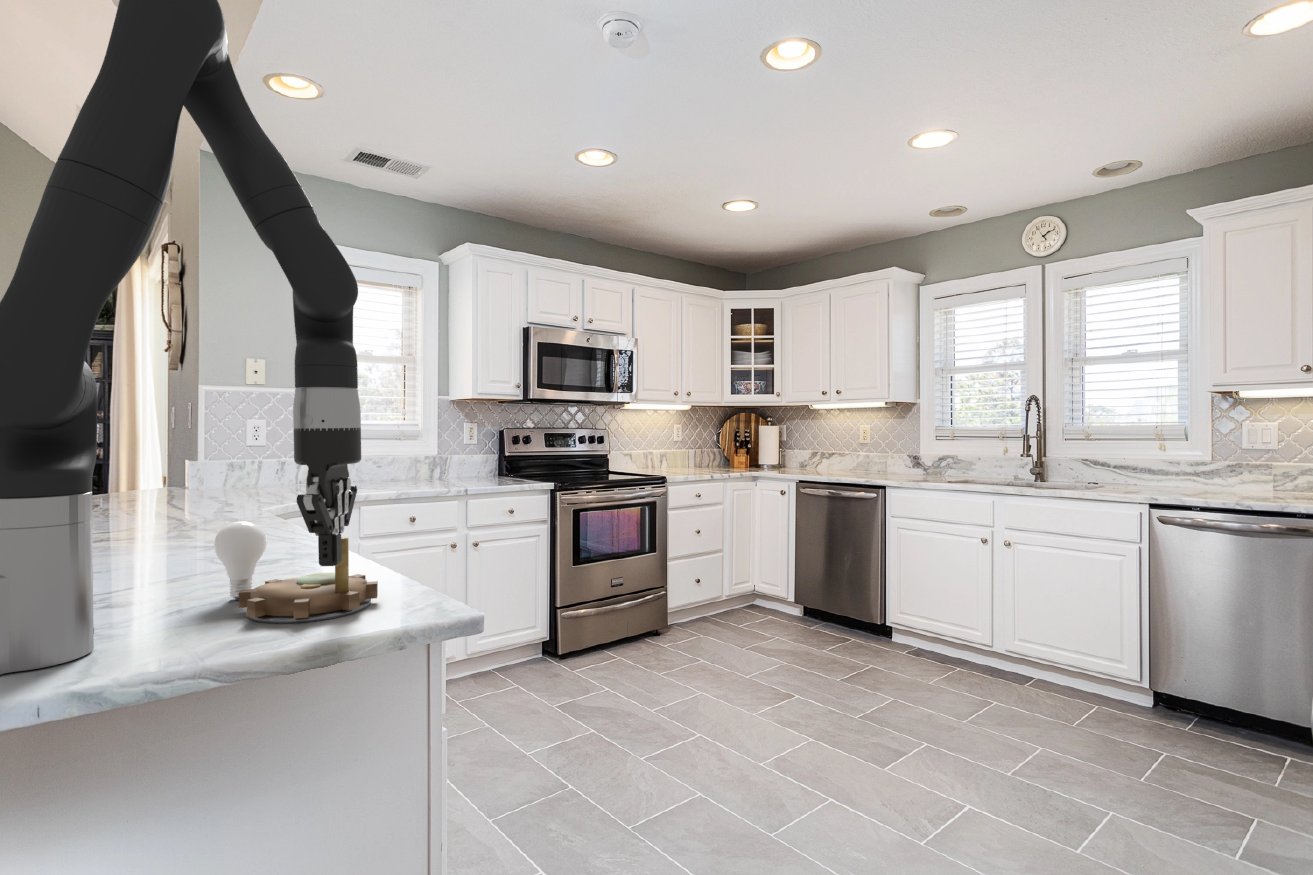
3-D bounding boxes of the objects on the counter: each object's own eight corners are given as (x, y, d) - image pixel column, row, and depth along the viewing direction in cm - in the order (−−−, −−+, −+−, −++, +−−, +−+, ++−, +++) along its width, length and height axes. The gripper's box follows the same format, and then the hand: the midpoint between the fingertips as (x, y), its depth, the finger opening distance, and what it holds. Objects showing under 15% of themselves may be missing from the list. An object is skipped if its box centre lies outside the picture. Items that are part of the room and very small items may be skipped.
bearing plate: (297, 629, 82) (297, 625, 82) (220, 613, 89) (220, 610, 89) (395, 601, 96) (395, 597, 96) (321, 589, 102) (321, 585, 102)
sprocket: (295, 625, 81) (295, 550, 81) (209, 608, 89) (209, 539, 88) (403, 594, 96) (403, 530, 96) (322, 582, 104) (322, 522, 103)
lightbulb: (225, 607, 92) (225, 525, 92) (206, 599, 96) (206, 521, 96) (275, 598, 97) (274, 520, 97) (255, 591, 101) (254, 516, 101)
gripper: (337, 425, 79) (340, 576, 79) (376, 424, 92) (379, 553, 92) (269, 426, 78) (273, 577, 78) (318, 425, 91) (321, 555, 92)
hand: (330, 564), depth 85 cm, fingers closed
